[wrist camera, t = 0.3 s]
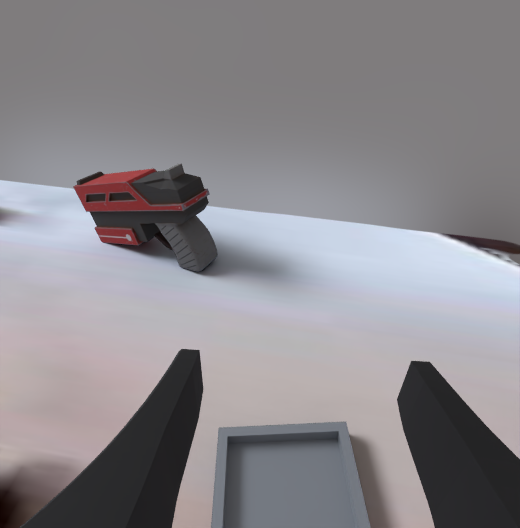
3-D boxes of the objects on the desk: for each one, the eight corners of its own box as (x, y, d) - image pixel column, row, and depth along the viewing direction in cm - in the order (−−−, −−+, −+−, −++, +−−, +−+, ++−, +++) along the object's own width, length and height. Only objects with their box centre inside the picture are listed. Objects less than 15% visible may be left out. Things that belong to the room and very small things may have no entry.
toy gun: (208, 276, 49) (169, 172, 42) (111, 263, 63) (69, 182, 56) (230, 256, 53) (197, 158, 46) (134, 248, 66) (97, 171, 59)
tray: (381, 600, 22) (385, 593, 21) (209, 608, 22) (205, 601, 21) (344, 432, 31) (346, 421, 30) (221, 438, 31) (218, 427, 30)
